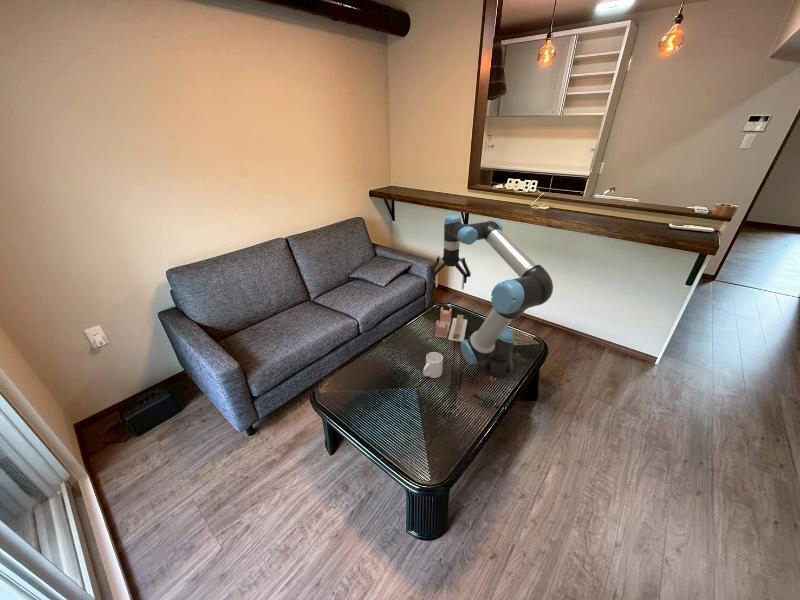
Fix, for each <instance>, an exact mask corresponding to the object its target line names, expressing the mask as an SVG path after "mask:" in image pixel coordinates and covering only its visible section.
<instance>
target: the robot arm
mask: <svg viewBox="0 0 800 600" xmlns="http://www.w3.org/2000/svg"><path fill="white" fill-rule="evenodd" d="M443 227H444V228H443V252H442V253H443V254H442V255H443V256H441V255H438V256H437V258H436V261H435V263H434V265H433V266H432V268H431V270H430V272H429V273H430V274H431V275H433V281H435V288H438V286H439V272H440V271H442V270H443V268H445V267H446V266H447V267H451V268H453V267H455V268H456V269H457V270H458V271H459V273H460V274H461V275H462V281H461V282H462V284H461V290H464V288H465V284H467V280H468V278H470V277H471V275H472V273H471V271H470V269H469V267H468V264H467V261H466V257H464V256H463V257H459V256H460V245H461V244H460V243H462V244H464V245H467V246H470V245H473V244H474V243H475V242H476V241H479V240H480V241H481V240H485V241H486V243H487V244H489V245H490V246H491V248H492V249H494V251H495V253H497V254H498V255H499V256H500V258H502V260H503V261H504V262H505V263H506V264H507V265H508V266H509V267H510V268H511V270H512V271H514V272H515V274H516V275H517V276H518V278H513V279H506V280H503V281H501V282H499V283H497V284H495V285H494V287H493V289H492V290H491V296H490V297H491V298H490V300H491V304H492V309H491V311H490V312H489V313H488V315H487V316H486V318H485V320H484V321H483V323H482V324H481V325H480V327H479V329H478V330H475V331H474V332H473V333H472V334H471V335H470V336H469V338H468V339H464V340H463V341H462V342H460V351H461V354H462V356H463V358H464V359H465V361H466V362H467V363H468V364H470V365H473V364H478V363H481V362H482V363H481V368H482V370H483V371H484V373H486V374H487V375H489V376H490V377H493V378H498V379H502V378H503V379H505V378H508V377H510V376H511V375H512V374H513V372H514V371H513V370H514V364H513V360H512V357H513V349H514V345H515V339H516V338H515V333H514V332H513V330H511V329H510V328H508V326H509V325H510V323H511V322H512V321H513V320H517V319H519V318H520V317H521V316H522V315H523V314H524V313H525V311H526V310H528V309H530V308H533V307H538V306H541V305H543V304H545V303H547V302H548V301H549V299H550V298H551V297H552V295H553V292H554V283H553V280H552V278H551V276H550V274H549V273H548V271H547V270H546V269H545V268H544V267H543V266H542V265H541V264H537V263H535V262H534V261H533V260H532V259H531V258H530V257H529V256H528V255H527V254H526V253H524V251H522V249H520V248H519V247H518V245H516V243H514V241H513V240H511V239H510V238H509V237H508V236H507V234H506V233H504V232H503V226H502V223H501V222H500V221H499V220H487V221H482V222H475V223H468V224H466V223H465V224H464V223H462V218H461V216H460V215H458V214H451V215H450V214H449V215H446V216H445V218H444V224H443ZM441 261H442V262H443V263H442V264H440V266H439V267H438V268H437V269H436V267H437V266H438V265H439V263H440V262H441ZM459 262H460V263H461V264H462V266H463V268H464V269H463V268H462V266H461V265H460V263H459ZM435 269H436V270H435Z"/></svg>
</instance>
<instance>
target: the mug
mask: <svg viewBox="0 0 800 600" xmlns="http://www.w3.org/2000/svg"><path fill="white" fill-rule="evenodd" d="M443 361H444V356H443V354H441V353H440V352H436V351H432V352H428V353H426V357H425V365H424V366H423V371H422V374H423V376H424V377H429V378H431V379H439V378H440V377H441V376H442V374H443V369H444V368H443V363H444V362H443Z"/></svg>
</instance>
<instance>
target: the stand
mask: <svg viewBox="0 0 800 600" xmlns="http://www.w3.org/2000/svg"><path fill="white" fill-rule="evenodd" d="M439 315H440V316H439V317H440V318H439V319H438V320H436V323H435V334H434V336H435V338H442V339H448V336H449V332H450V328H451V325H452V321H453V318H452V308H451V307H449V310H446V309H444V307H443V306H441V307H440V314H439ZM449 327H450V328H449Z"/></svg>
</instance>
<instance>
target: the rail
mask: <svg viewBox="0 0 800 600" xmlns="http://www.w3.org/2000/svg"><path fill="white" fill-rule="evenodd" d="M456 318H457V320H456V324H455V329H454V333H453V339H458V340H459V337H460V332H461V327H462V322H463V319H464V314H457V317H456Z"/></svg>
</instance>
